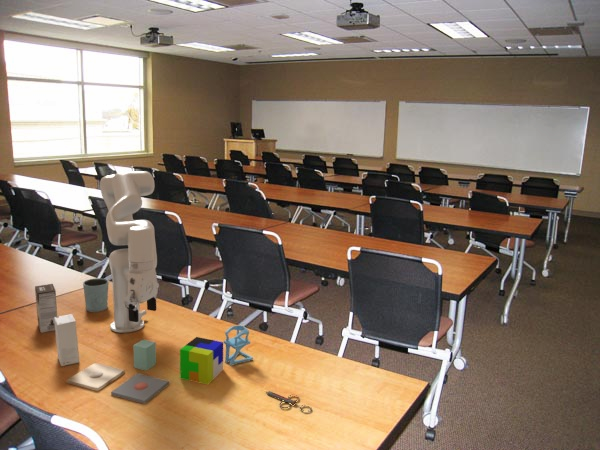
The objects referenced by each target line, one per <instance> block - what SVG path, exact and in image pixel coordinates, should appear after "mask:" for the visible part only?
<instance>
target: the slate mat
mask: <svg viewBox="0 0 600 450" xmlns="http://www.w3.org/2000/svg"><path fill="white" fill-rule="evenodd" d="M168 385H170V380H166V379H163V378H158V377H153V376H150V375H146V374H143V373H138V372H137V373H136V374H135V375H133V376H131V377H130V378H129V379H127V380H126V381H124V382H123V383H121V385H120V384H119V386H117V387H116V388H114V389H113V390H112V391H110V395H111V396H113V397H118V398H122V399H124V400H125V399H126V400H128V401H132V402H137V403H140V404H144V405H145V404H147V403H148V402H150V400H152V399H153V398H154V397H155V396H156V395H157V394H159V393H161V391H163V390H164V389H165V388H167V387H168Z"/></svg>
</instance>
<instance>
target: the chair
mask: <svg viewBox="0 0 600 450" xmlns="http://www.w3.org/2000/svg"><path fill="white" fill-rule="evenodd" d="M233 330H235V331H236V335H235V336H233V337H231V338H230V337H229V335H228V334H229V333H230V332H231V331H233ZM224 334H225V336H226V339H225V340H223V345H224V344H225V357H224V363H226V364H227V363H229V366H234V365H237V364H236V363H239V364H241V363H240V362H243V363H246V362H245V361H248V362H250V361H249V360H252V359H254V358H253V356H251V355H249V354H247V353H245V352H243V351H241V350H242V349H243V348H244V347H246V346H248V345H251V340H249V339H248V338H249V334H250V330H249V329H248V328H247V327H245V326H244V325H233V326H230V327H229V328H228V329H227V330H226V331H224ZM244 335H245V337H244V338H243V337H242V336H244ZM231 348H232V349H235V351H234V353H232V355H230V351H231ZM238 353H240V354H238ZM241 354H242V355H241ZM238 355H241V356H243V355H244V356H243V357H245V356H246V357H245V358H241V359H237V356H238ZM247 357H248V358H247ZM236 359H237V360H236ZM228 361H229V362H228ZM252 361H253V360H252ZM233 364H234V365H233Z"/></svg>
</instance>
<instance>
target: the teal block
mask: <svg viewBox="0 0 600 450" xmlns="http://www.w3.org/2000/svg"><path fill="white" fill-rule="evenodd" d="M156 347H157V344H156V341H153V340H147V339H141V340H139V341H138V342H136V343H135V344H133V347H132V349H133V368H134V369H138V370H141V371H148V370H150V369H152V368H153V367H154V366H155V365H157V353H156V352H157V348H156Z"/></svg>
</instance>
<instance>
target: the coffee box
mask: <svg viewBox="0 0 600 450" xmlns="http://www.w3.org/2000/svg"><path fill="white" fill-rule="evenodd" d="M34 292H35V303H36V304H35V305H36V317H37V325H38V328H39V331H40V334H42V333H47V332H52V331H53V332H54V331H55V323H54V317H58V310H57V309H58V307H57V292H56V288H55V286H54V284H53V283H49V284H48V283H47V284H42V285H36V286H34Z"/></svg>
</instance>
